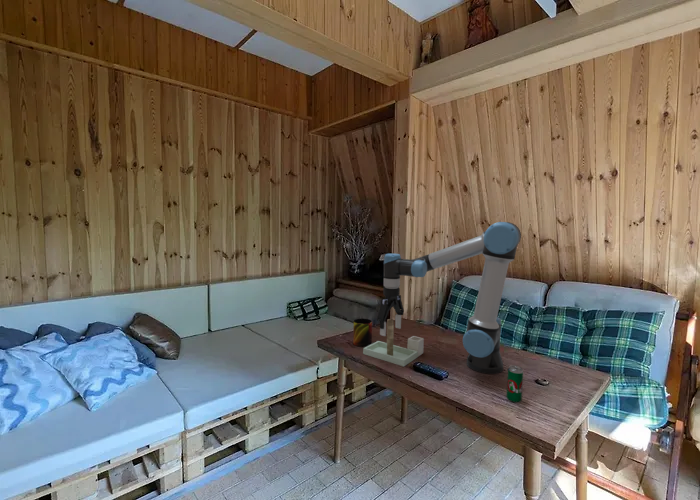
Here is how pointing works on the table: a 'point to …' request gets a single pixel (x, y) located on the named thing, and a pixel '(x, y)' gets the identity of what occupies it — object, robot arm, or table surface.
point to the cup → (416, 344)
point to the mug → (362, 332)
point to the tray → (399, 355)
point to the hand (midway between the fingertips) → (390, 331)
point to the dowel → (390, 336)
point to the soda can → (514, 383)
